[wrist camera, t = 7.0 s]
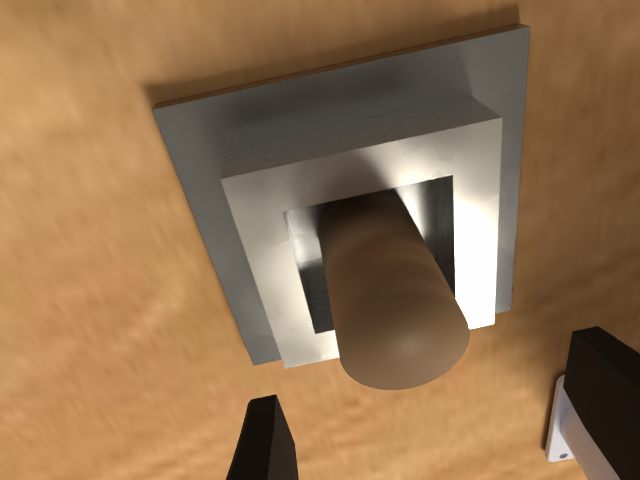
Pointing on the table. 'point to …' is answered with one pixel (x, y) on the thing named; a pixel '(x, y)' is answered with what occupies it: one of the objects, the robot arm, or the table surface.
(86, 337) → the table surface
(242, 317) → the mount
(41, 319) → the table surface
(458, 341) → the cylinder
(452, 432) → the table surface
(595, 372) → the robot arm
